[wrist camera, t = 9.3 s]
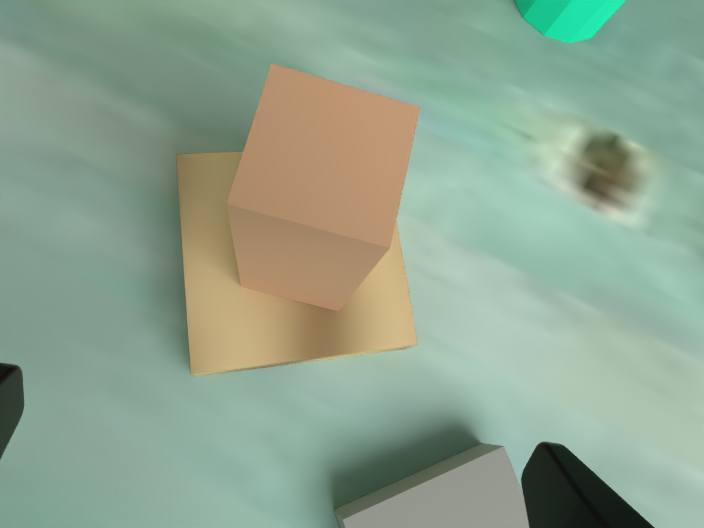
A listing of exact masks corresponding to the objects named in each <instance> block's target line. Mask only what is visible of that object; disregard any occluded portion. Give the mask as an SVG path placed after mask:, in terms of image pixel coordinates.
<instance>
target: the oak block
mask: <svg viewBox="0 0 704 528" xmlns="http://www.w3.org/2000/svg"><path fill="white" fill-rule="evenodd" d="M242 154H243V152H217V153H191V154H176V162H177V177H178V191H179V206H180V221H181V236H182V251H183V265H184V280H185V295H186V310H187V325H188V339H189V354H190V369H191V374H192V375H194V376H195V377H196V376H204V375H211V374H219V373H227V372H234V371H242V370H250V369H257V368H265V367H273V366H280V365H288V364H296V363H303V362H311V361H318V360H326V359H334V358H341V357H349V356H357V355H364V354H372V353H380V352H387V351H395V350H403V349H406V348H409V347H412V346H415V345H417V338H416V332H415V326H414V320H413V314H412V309H411V303H410V297H409V291H408V285H407V279H406V273H405V268H404V262H403V256H402V250H401V244H400V238H399V232H398V226H397V221H396V223H395V227H394V232H393V237H392V241H391V246H390V249H389V250H388V251H387V252H386V254H385V255H384V256H383V257H382V259H381V260H380V261H379V262H378V263H377V265H376V266H375V267H374V268H373V270H372V271H371V272H370V273H369V275H368V276H367V277H366V278H365V279H364V281H363V282H362V283H361V284H360V286H359V287H358V288H357V289H356V290H355V292H354V293H353V294H352V295H351V297H350V298H349V299H348V300H347V302H346V303H345V304H344V305H343V306H342V308H341V309H340V310H339V311H334V310H330V309H326V308H322V307H318V306H314V305H311V304H307V303H303V302H299V301H295V300H291V299H287V298H283V297H279V296H275V295H271V294H267V293H264V292H260V291H256V290H252V289H248V288H244V287H241V283H240V277H239V272H238V266H237V260H236V255H235V249H234V244H233V238H232V232H231V227H230V221H229V215H228V210H227V200H228V197H229V194H230V191H231V188H232V185H233V182H234V179H235V175H236V172H237V169H238V166H239V163H240V160H241V157H242Z"/></svg>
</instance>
